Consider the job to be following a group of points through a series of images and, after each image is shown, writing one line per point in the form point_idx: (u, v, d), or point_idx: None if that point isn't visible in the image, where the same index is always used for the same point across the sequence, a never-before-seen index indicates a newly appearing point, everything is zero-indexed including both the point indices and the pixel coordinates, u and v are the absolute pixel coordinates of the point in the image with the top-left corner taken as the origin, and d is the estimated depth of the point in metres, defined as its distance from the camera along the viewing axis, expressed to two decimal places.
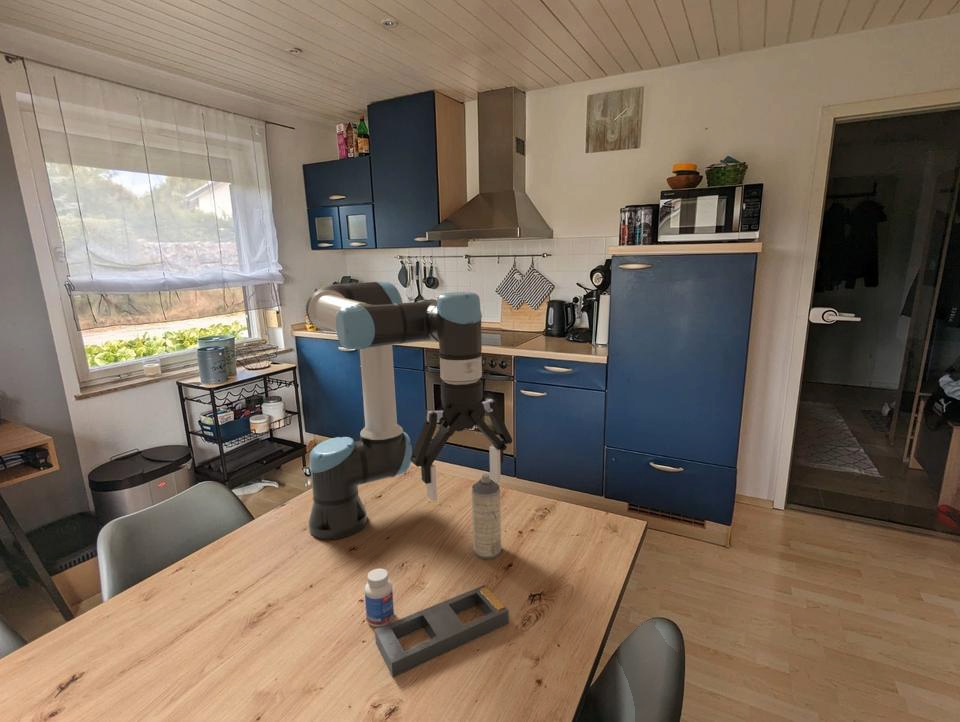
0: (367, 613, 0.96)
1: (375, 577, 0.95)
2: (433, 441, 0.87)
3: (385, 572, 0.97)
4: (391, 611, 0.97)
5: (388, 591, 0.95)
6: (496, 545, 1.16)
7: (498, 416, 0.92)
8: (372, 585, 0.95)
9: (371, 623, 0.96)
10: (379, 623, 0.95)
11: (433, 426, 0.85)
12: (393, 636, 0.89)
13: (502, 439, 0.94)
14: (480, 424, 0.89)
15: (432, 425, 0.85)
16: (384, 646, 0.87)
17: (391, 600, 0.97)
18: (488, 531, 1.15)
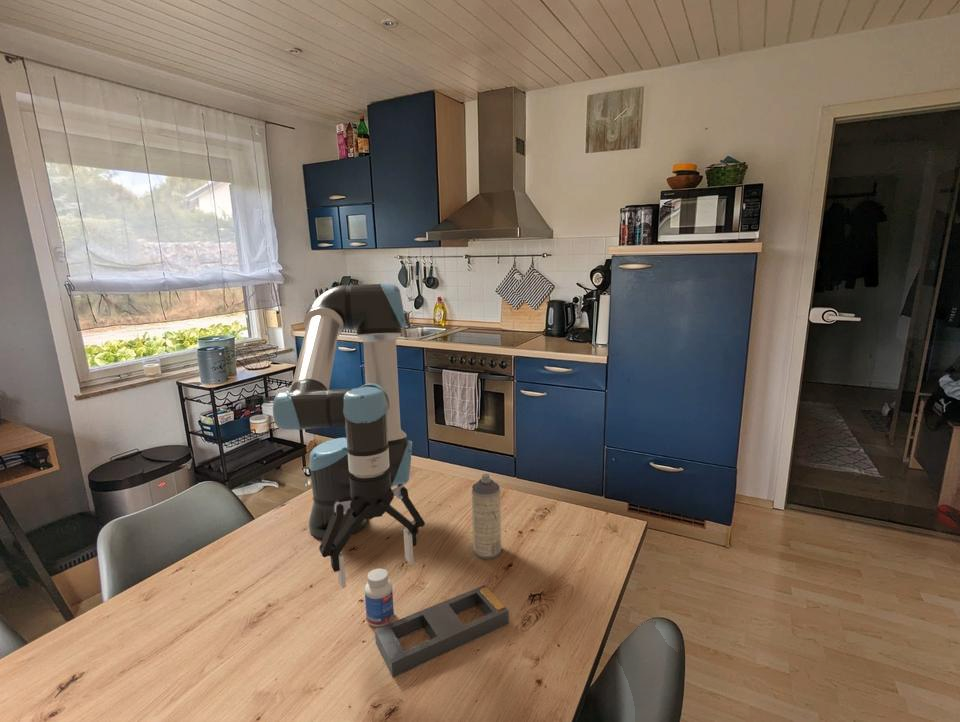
0: (367, 613, 0.96)
1: (375, 577, 0.95)
2: (342, 530, 0.91)
3: (385, 572, 0.97)
4: (391, 611, 0.97)
5: (388, 591, 0.95)
6: (496, 545, 1.16)
7: (409, 502, 0.95)
8: (372, 585, 0.95)
9: (371, 623, 0.96)
10: (379, 623, 0.95)
11: (339, 518, 0.89)
12: (393, 636, 0.89)
13: (415, 522, 0.98)
14: (389, 512, 0.93)
15: (338, 517, 0.88)
16: (384, 646, 0.87)
17: (391, 600, 0.97)
18: (488, 531, 1.15)
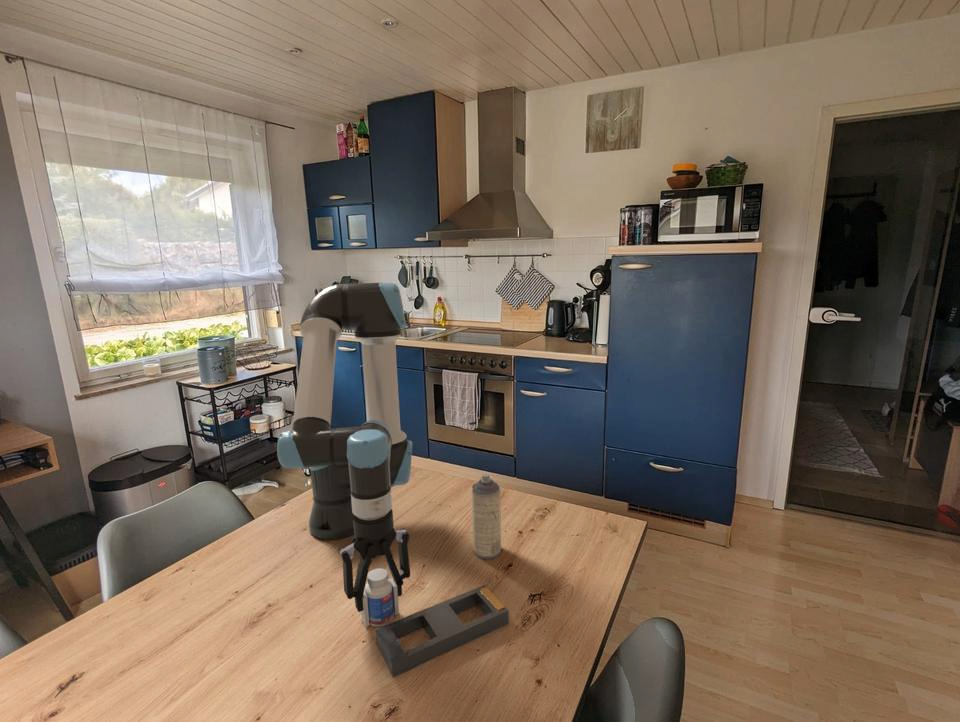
0: None
1: (375, 577, 0.95)
2: (358, 572, 0.95)
3: (385, 572, 0.97)
4: (391, 611, 0.97)
5: (388, 591, 0.95)
6: (496, 545, 1.16)
7: (405, 548, 0.97)
8: (372, 585, 0.95)
9: (371, 623, 0.96)
10: (379, 623, 0.95)
11: (349, 564, 0.91)
12: (393, 636, 0.89)
13: (400, 573, 0.98)
14: (387, 554, 0.94)
15: (347, 563, 0.91)
16: (384, 646, 0.87)
17: (391, 600, 0.97)
18: (488, 531, 1.15)
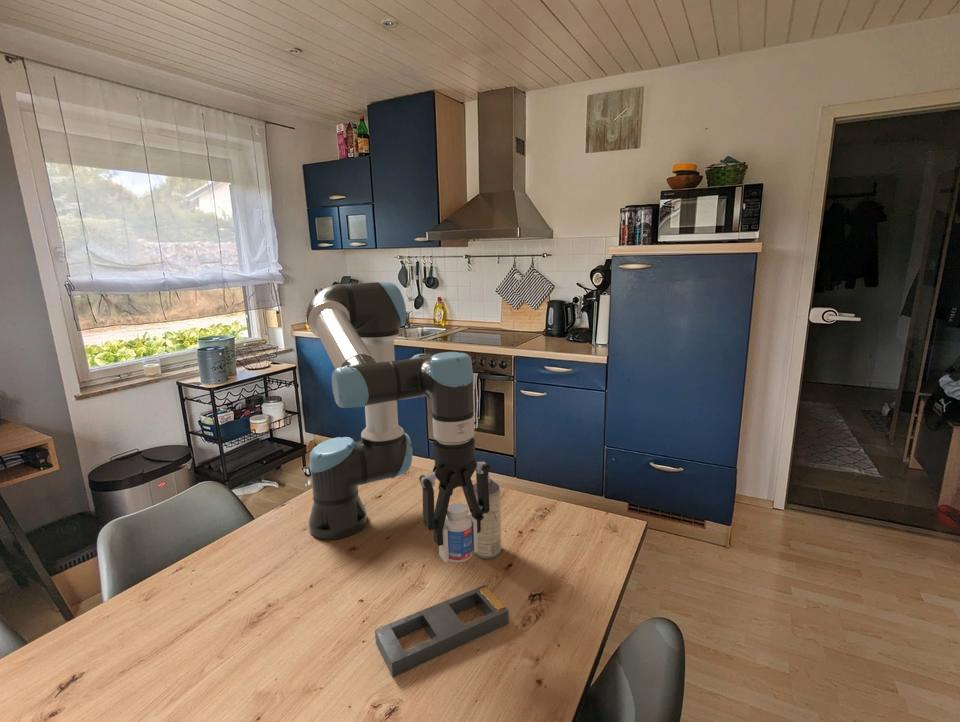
0: None
1: (455, 510, 0.90)
2: (437, 503, 0.90)
3: (464, 506, 0.92)
4: (471, 547, 0.92)
5: (469, 525, 0.90)
6: (496, 545, 1.16)
7: (486, 481, 0.92)
8: (452, 517, 0.90)
9: (450, 559, 0.91)
10: (459, 558, 0.90)
11: (430, 492, 0.86)
12: (393, 636, 0.89)
13: (479, 508, 0.93)
14: (468, 485, 0.90)
15: (429, 491, 0.86)
16: (384, 646, 0.87)
17: (471, 535, 0.91)
18: (488, 531, 1.15)
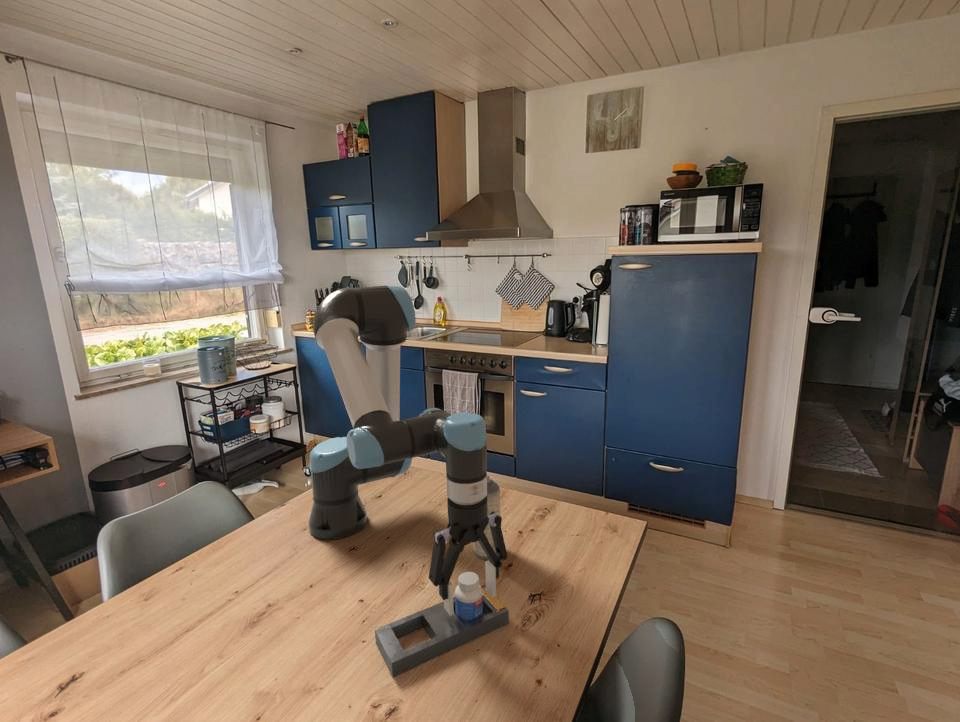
0: (458, 617, 0.94)
1: (467, 581, 0.93)
2: (446, 558, 0.92)
3: (475, 576, 0.95)
4: (482, 615, 0.95)
5: (480, 595, 0.94)
6: None
7: (500, 532, 0.95)
8: (464, 589, 0.93)
9: None
10: None
11: (442, 548, 0.89)
12: (393, 636, 0.89)
13: (498, 555, 0.97)
14: (483, 539, 0.92)
15: (441, 547, 0.88)
16: (384, 646, 0.87)
17: (482, 604, 0.95)
18: (488, 531, 1.15)
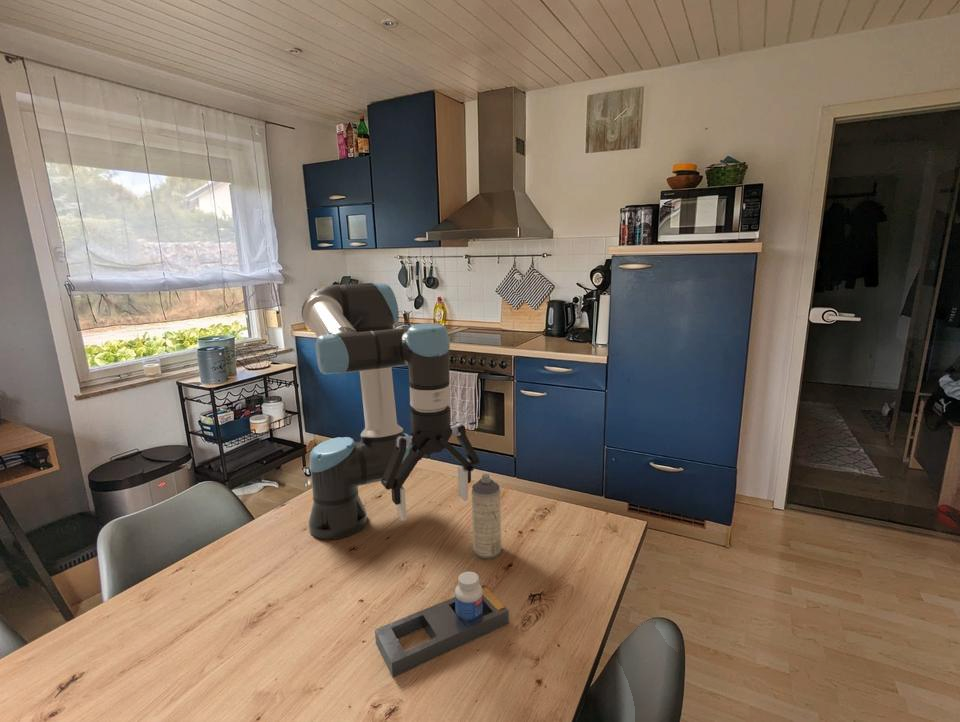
0: (458, 617, 0.94)
1: (467, 581, 0.94)
2: (403, 464, 0.92)
3: (475, 575, 0.95)
4: (482, 615, 0.95)
5: (480, 595, 0.94)
6: (496, 545, 1.16)
7: (466, 439, 0.97)
8: (464, 588, 0.93)
9: None
10: None
11: (402, 452, 0.90)
12: (393, 636, 0.89)
13: (470, 460, 0.99)
14: (448, 448, 0.94)
15: (401, 450, 0.89)
16: (384, 646, 0.87)
17: (482, 604, 0.95)
18: (488, 531, 1.15)
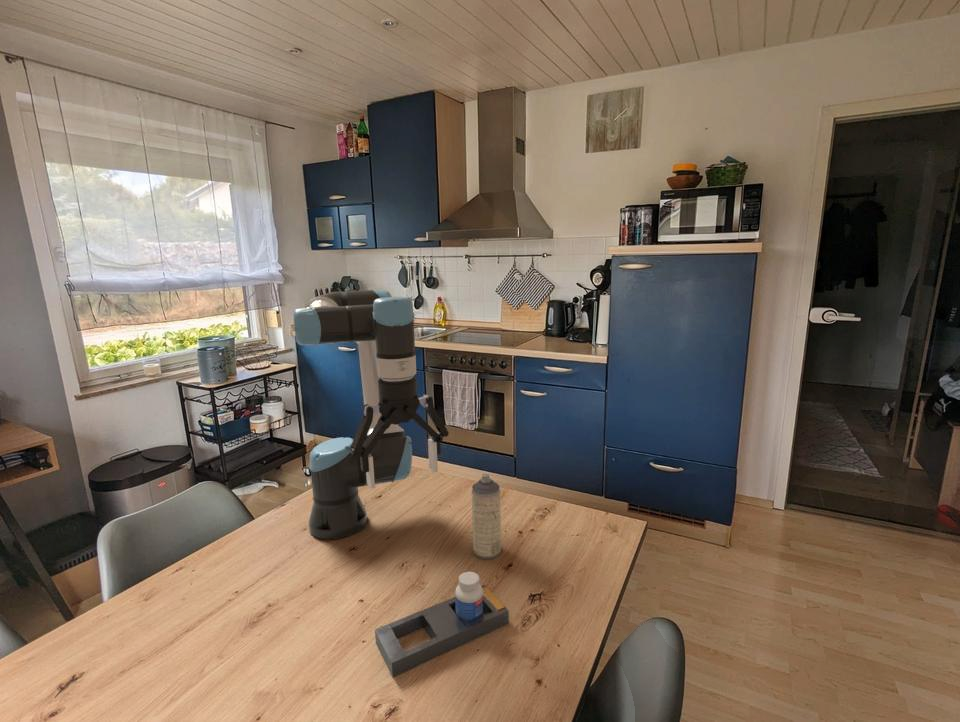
0: (458, 617, 0.94)
1: (467, 581, 0.94)
2: (371, 433, 0.95)
3: (476, 575, 0.95)
4: (482, 615, 0.95)
5: (480, 595, 0.94)
6: (496, 545, 1.16)
7: (434, 411, 0.99)
8: (465, 589, 0.93)
9: None
10: None
11: (369, 420, 0.93)
12: (393, 636, 0.89)
13: (439, 432, 1.02)
14: (415, 418, 0.97)
15: (368, 419, 0.93)
16: (384, 646, 0.87)
17: (482, 604, 0.95)
18: (488, 531, 1.15)
